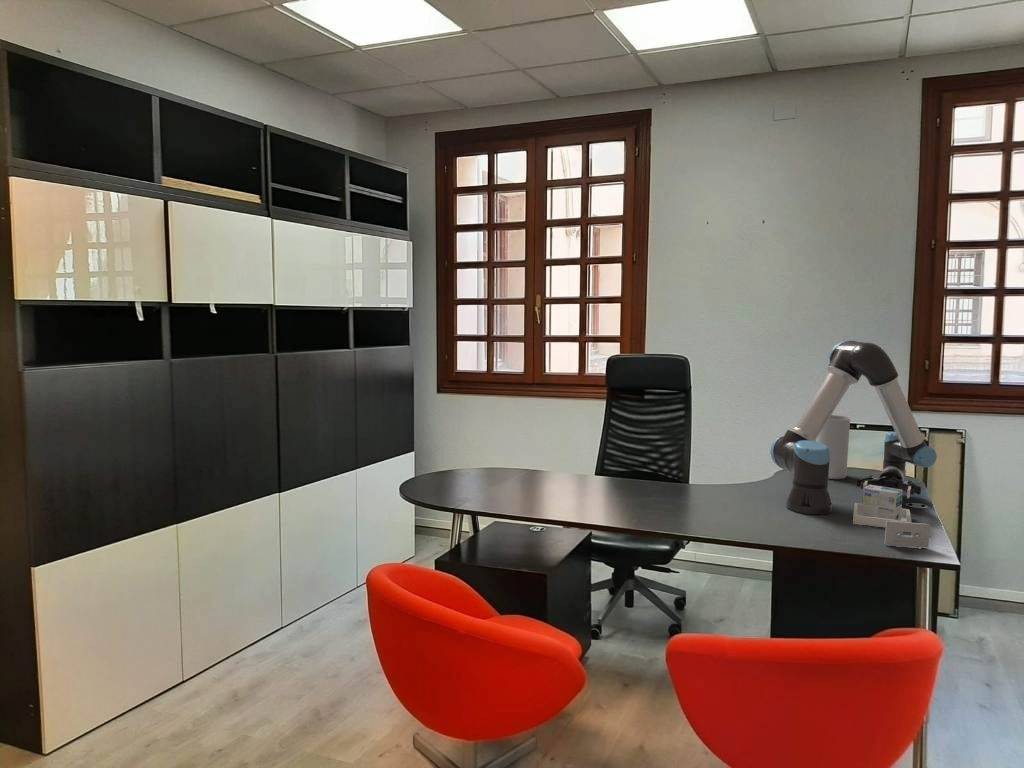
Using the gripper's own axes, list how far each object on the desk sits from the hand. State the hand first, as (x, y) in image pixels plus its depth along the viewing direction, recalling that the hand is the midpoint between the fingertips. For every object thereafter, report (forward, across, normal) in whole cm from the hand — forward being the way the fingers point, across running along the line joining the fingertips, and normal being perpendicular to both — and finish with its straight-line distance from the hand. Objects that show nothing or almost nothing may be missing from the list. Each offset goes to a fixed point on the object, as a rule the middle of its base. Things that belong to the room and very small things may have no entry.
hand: (885, 491), depth 254 cm
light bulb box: (+7, 0, -8) cm, 11 cm away
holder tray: (+7, 0, -9) cm, 11 cm away
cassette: (+32, -9, -9) cm, 35 cm away
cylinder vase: (-52, +25, -9) cm, 58 cm away
